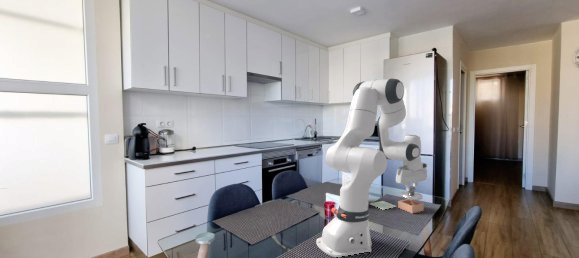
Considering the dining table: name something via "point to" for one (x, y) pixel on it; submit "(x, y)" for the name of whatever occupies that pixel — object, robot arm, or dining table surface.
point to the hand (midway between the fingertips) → (411, 190)
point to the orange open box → (411, 206)
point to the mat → (382, 205)
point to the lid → (411, 195)
